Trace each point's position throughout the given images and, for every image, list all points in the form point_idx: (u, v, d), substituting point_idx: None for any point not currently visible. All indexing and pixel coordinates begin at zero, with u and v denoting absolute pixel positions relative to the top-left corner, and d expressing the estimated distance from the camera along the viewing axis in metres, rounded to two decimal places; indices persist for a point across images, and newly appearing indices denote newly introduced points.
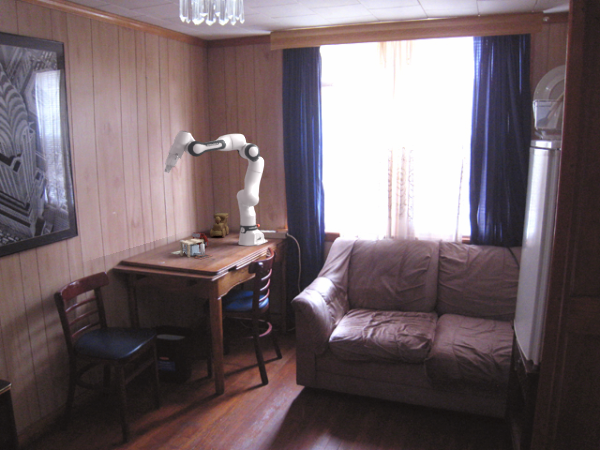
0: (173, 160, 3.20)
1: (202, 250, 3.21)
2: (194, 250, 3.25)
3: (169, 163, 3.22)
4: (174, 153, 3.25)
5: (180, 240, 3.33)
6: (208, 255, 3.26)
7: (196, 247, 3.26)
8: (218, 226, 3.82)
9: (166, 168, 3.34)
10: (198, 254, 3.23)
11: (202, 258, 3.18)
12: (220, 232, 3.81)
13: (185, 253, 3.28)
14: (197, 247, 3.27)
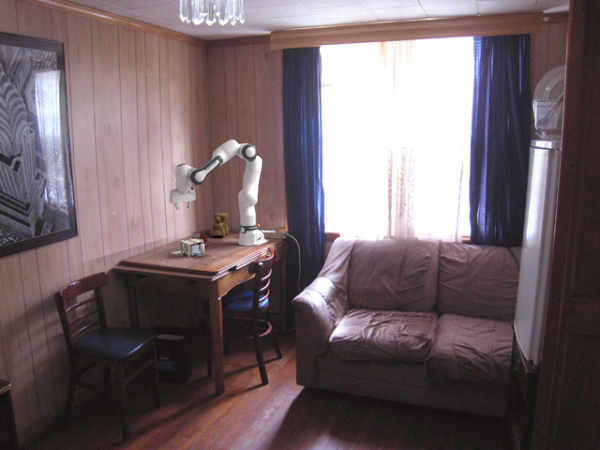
0: (170, 197, 3.28)
1: (202, 250, 3.21)
2: (194, 250, 3.25)
3: None
4: None
5: (180, 240, 3.33)
6: (208, 255, 3.26)
7: (196, 247, 3.26)
8: (218, 226, 3.82)
9: (188, 204, 3.41)
10: (198, 254, 3.23)
11: (202, 258, 3.18)
12: (220, 232, 3.81)
13: (185, 253, 3.28)
14: (197, 247, 3.27)
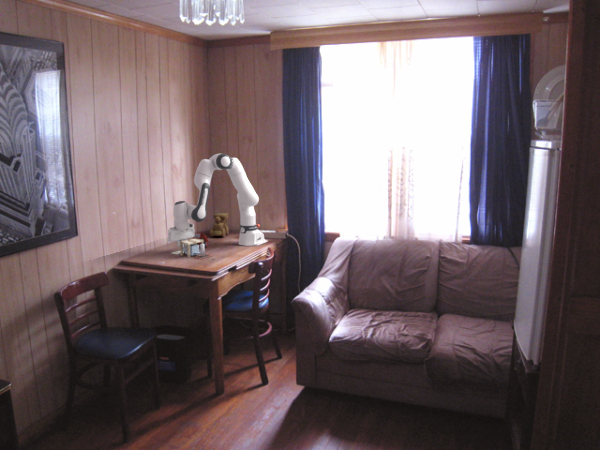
0: (168, 235, 3.25)
1: (202, 250, 3.21)
2: (194, 250, 3.25)
3: None
4: None
5: (180, 240, 3.33)
6: (208, 255, 3.26)
7: (196, 247, 3.26)
8: (218, 226, 3.82)
9: None
10: (198, 254, 3.23)
11: (202, 258, 3.18)
12: (220, 232, 3.81)
13: (185, 253, 3.28)
14: (197, 247, 3.27)
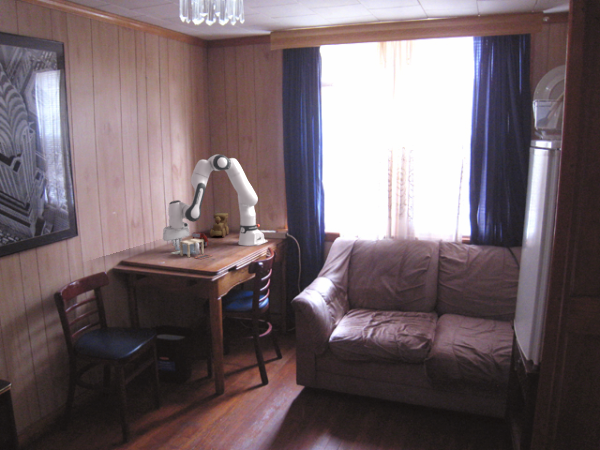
0: (163, 234, 3.28)
1: (197, 249, 3.24)
2: None
3: None
4: None
5: (175, 239, 3.36)
6: (208, 255, 3.26)
7: (191, 246, 3.29)
8: (218, 226, 3.82)
9: (179, 241, 3.38)
10: (193, 253, 3.26)
11: (202, 258, 3.18)
12: (220, 232, 3.81)
13: None
14: (191, 246, 3.30)
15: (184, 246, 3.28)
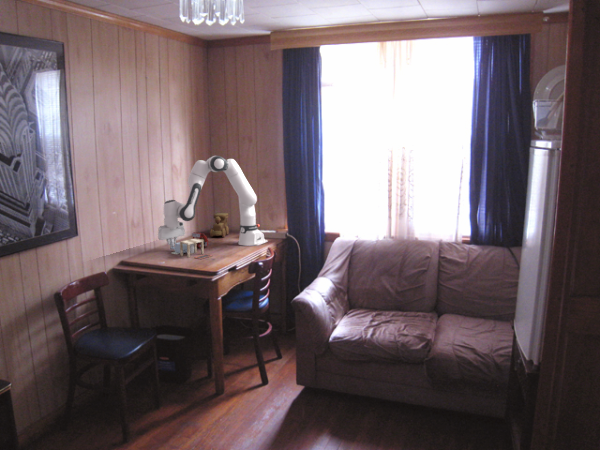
0: (158, 234, 3.31)
1: (191, 248, 3.27)
2: (184, 248, 3.31)
3: None
4: None
5: (170, 238, 3.39)
6: (208, 255, 3.26)
7: (186, 245, 3.32)
8: (218, 226, 3.82)
9: (174, 240, 3.41)
10: None
11: (202, 258, 3.18)
12: (220, 232, 3.81)
13: (175, 251, 3.34)
14: (186, 245, 3.33)
15: (179, 245, 3.30)
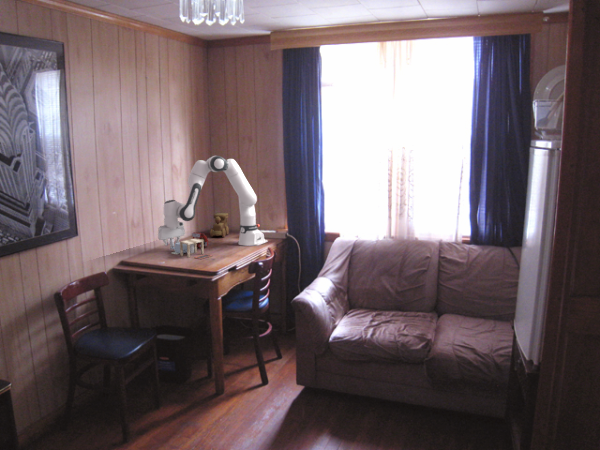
0: (158, 234, 3.31)
1: (191, 248, 3.27)
2: (184, 248, 3.31)
3: None
4: None
5: (170, 238, 3.39)
6: (208, 255, 3.26)
7: (186, 245, 3.32)
8: (218, 226, 3.82)
9: (177, 239, 3.43)
10: None
11: (202, 258, 3.18)
12: (220, 232, 3.81)
13: (175, 251, 3.34)
14: (186, 245, 3.33)
15: (179, 245, 3.30)
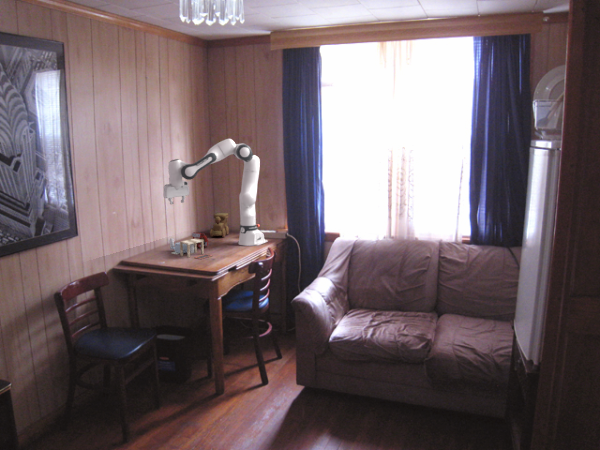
0: (164, 192, 3.34)
1: (191, 248, 3.27)
2: (184, 248, 3.31)
3: None
4: None
5: (170, 238, 3.39)
6: (208, 255, 3.26)
7: (186, 245, 3.32)
8: (218, 226, 3.82)
9: (182, 199, 3.47)
10: None
11: (202, 258, 3.18)
12: (220, 232, 3.81)
13: (175, 251, 3.34)
14: (186, 245, 3.33)
15: (179, 245, 3.30)
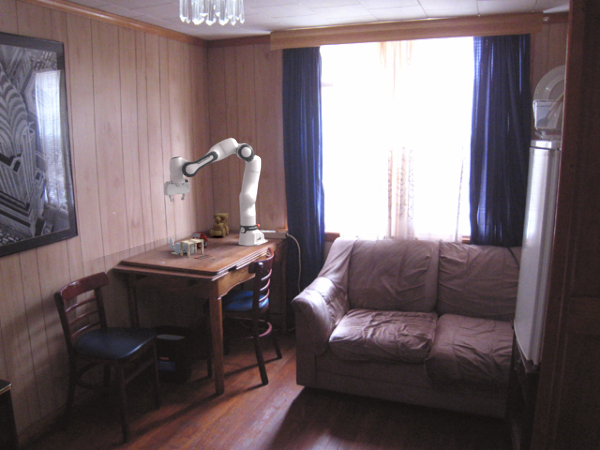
0: (164, 189, 3.35)
1: (191, 248, 3.27)
2: (184, 248, 3.31)
3: None
4: None
5: (170, 238, 3.39)
6: (208, 255, 3.26)
7: (186, 245, 3.32)
8: (218, 226, 3.82)
9: (182, 196, 3.47)
10: None
11: (202, 258, 3.18)
12: (220, 232, 3.81)
13: (175, 251, 3.34)
14: (186, 245, 3.33)
15: (179, 245, 3.30)
